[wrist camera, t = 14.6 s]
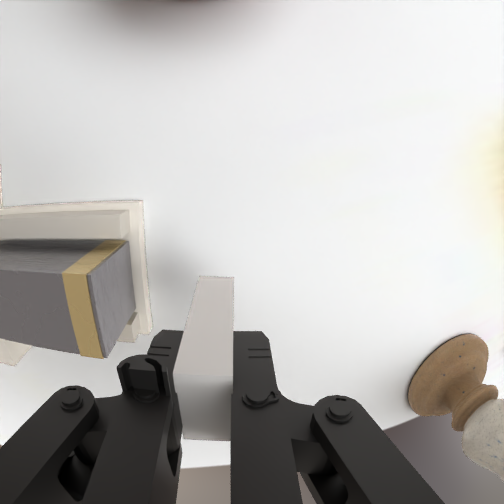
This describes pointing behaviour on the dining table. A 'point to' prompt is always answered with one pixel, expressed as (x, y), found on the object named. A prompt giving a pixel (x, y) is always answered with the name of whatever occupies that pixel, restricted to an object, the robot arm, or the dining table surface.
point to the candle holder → (463, 398)
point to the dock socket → (83, 229)
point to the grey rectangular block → (66, 294)
